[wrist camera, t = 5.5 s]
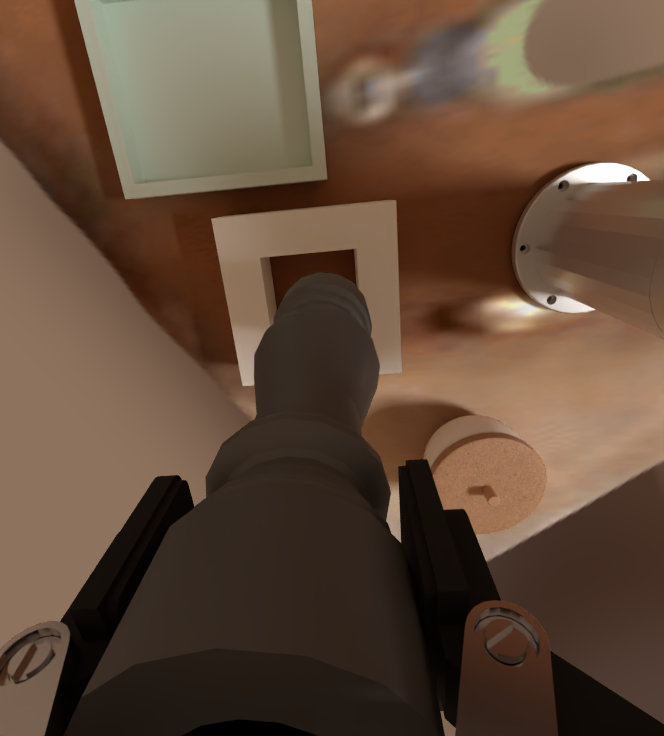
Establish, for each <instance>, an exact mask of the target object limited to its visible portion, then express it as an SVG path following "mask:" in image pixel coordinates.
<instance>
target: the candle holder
mask: <svg viewBox="0 0 664 736" xmlns="http://www.w3.org/2000/svg"><path fill="white" fill-rule="evenodd" d="M371 331H372V323H371V319H370V314H369V310H368V307H367V304H366V300H365V297H364V295H363V294H362V293H361V291H360V290H359V289H358V288H357V286H356V285H355V284H354V283H353V282H352V281H350V280H348V279H346V278H344V277H342V276H340V275H338V274H334V273H323V272H318V273H315V274H311V275H308V276H305V277H302V278H301V279H300V280H298V281H297V282H296V283H295V284H294V285H293V286H291V287H290V288H289V289H288V291H287V292H286V294H285V296H284V298H283V300H282V302H281V304H280V306H279V308H278V310H277V312H276V314H275V316H274V324H272V325H271V326H270V327H269V328H268V329H267V330H266V331H265V333H264V335H263V337H262V339H261V341H260V344H259V346H258V348H257V350H256V352H255V354H254V385H255V396H256V410H257V415H256V418H255V420H252V421H250V422H249V423H248V424H247V425H245V426H244V427H243V428H241V429H240V430H239V431H237V432H236V433H235V434H234V435H233V436H231V437H230V438H229V439H228V440H226V441H225V442H224V443H223V444H222V445H221V447H220V449H219V451H218V453H217V455H216V457H215V460H214V461H213V464H212V466H211V468H210V470H209V472H208V474H207V476H206V498H205V499H204V500H203V501H201V502H200V503H199V504H197V505H196V506H195V507H194V508H193V510H191V511H190V512H189V513H187V514H186V515H184V516H183V517H182V518H180V519H179V520H178V521H176V522H175V523H174V524H172V525H171V526H170V527H169V529H168V531H167V533H166V535H165V537H164V539H163V540H162V542H161V544H160V546H159V548H158V550H157V552H156V554H155V556H154V558H153V560H152V562H151V564H150V566H149V568H148V569H147V571H146V573H145V575H144V577H143V579H142V581H141V583H140V585H139V587H138V589H137V591H136V593H135V595H134V596H133V598H132V600H131V602H130V604H129V606H128V608H127V610H126V612H125V614H124V616H123V618H122V620H121V622H120V624H119V625H118V627H117V629H116V631H115V633H114V635H113V637H112V639H111V641H110V643H109V645H108V647H107V649H106V651H105V652H104V654H103V656H102V658H101V660H100V662H99V664H98V666H97V668H96V670H95V672H94V674H93V676H92V678H91V680H90V681H89V683H88V685H87V687H86V689H85V691H84V693H83V695H82V697H81V699H80V701H79V703H78V705H77V707H76V710H75V712H74V714H73V716H72V718H71V720H70V723H69V725H68V727H67V729H66V731H65V733H64V735H63V736H445V734H444V729H443V723H442V719H441V713H440V707H439V702H438V697H437V691H436V686H435V681H434V675H433V670H432V665H431V660H430V654H429V649H428V645H427V643H426V639H425V633H424V628H423V623H422V617H421V612H420V607H419V601H418V596H417V590H416V585H415V580H414V576H413V573H412V570H411V566H410V563H409V560H408V557H407V554H406V551H405V548H404V546H403V545H402V544H401V543H400V542H399V541H398V540H397V539H396V538H395V537H394V536H393V535H392V534H391V531H390V528H389V525H388V523H387V522H386V518H387V512H388V506H389V500H390V495H391V492H390V487H389V484H388V481H387V477H386V474H385V471H384V468H383V465H382V462H381V459H380V456H379V455H378V453H377V452H376V451H375V450H374V449H373V448H372V447H371V446H370V445H369V444H368V443H367V442H366V441H365V440H364V438H363V437H362V436H361V428H362V425H363V423H364V420H365V417H366V415H367V412H368V409H369V407H370V404H371V402H372V399H373V397H374V394H375V392H376V389H377V384H378V377H379V370H380V363H379V359H378V356H377V352H376V349H375V346H374V342H373V339H372V338H371Z"/></svg>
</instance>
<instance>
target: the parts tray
mask: <svg viewBox="0 0 664 736" xmlns="http://www.w3.org/2000/svg"><path fill="white" fill-rule="evenodd" d="M74 2H75V6H76V9H77V13H78V17H79V21H80V25H81V29H82V33H83V37H84V41H85V45H86V48H87V52H88V56H89V60H90V64H91V68H92V72H93V76H94V80H95V83H96V87H97V91H98V95H99V99H100V103H101V107H102V111H103V115H104V119H105V122H106V126H107V130H108V134H109V138H110V142H111V146H112V150H113V154H114V157H115V161H116V165H117V169H118V173H119V177H120V181H121V185H122V189H123V193H124V196H125V199H145V198H155V197H165V196H175V195H185V194H195V193H205V192H215V191H225V190H234V189H244V188H254V187H264V186H274V185H284V184H294V183H304V182H314V181H324V180H327V168H326V157H325V146H324V134H323V123H322V112H321V100H320V89H319V77H318V66H317V55H316V43H315V32H314V20H313V9H312V0H74Z"/></svg>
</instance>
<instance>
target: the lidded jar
mask: <svg viewBox="0 0 664 736" xmlns="http://www.w3.org/2000/svg"><path fill="white" fill-rule="evenodd" d="M423 459H427V460H428V463H429V466H430V469H431V472H432V475H433V478H434V481H435V485H436V488H437V491H438V494H439V497H440V500H441V503H442V506H443V509H444V510H449V509H464V510H465V511H466V513H467V515H468V517H469V520H470V522H471V525H472V527H473V530H474V532H475V534H490V533H494V532H499V531H502V530H505V529H508V528H510V527H512V526H514V525H516V524H518V523H520V522H521V521H523V520H524V519H525V518H526V517H528V516H529V515H530V514H531V513H532V512H533V511H534V510H535V509H536V507H537V506H538V504H539V503H540V501H541V499H542V497H543V495H544V492H545V488H546V482H547V476H546V470H545V466H544V464H543V462H542V460H541V458H540V457H539V455H538V454H537V453H536V452H535V450H534V449H533V448H532V447H531V446H530V445H528V444H527V443H526V441H525V440H524V439H523V438H522V437H521V436H520V435H519V434H518V433H517V432H515V431H514V430H513V429H512V428H511V427H509V426H507V425H506V424H504V423H502V422H501V421H499V420H496V419H493V418H490V417H486V416H481V415H469V416H462V417H458V418H455V419H453V420H451V421H449V422H447V423H445V424H444V425H442V426H441V427H440V428H439V429H438V430H437V431H436V432H435V433H434V434H433V435H432V437H431V438H430V440H429V442H428V443H427V446H426V449H425V452H424V456H423Z"/></svg>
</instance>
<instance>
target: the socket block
mask: <svg viewBox="0 0 664 736" xmlns="http://www.w3.org/2000/svg"><path fill="white" fill-rule="evenodd" d="M211 220H212V226H213V231H214V236H215V241H216V247H217V252H218V257H219V263H220V268H221V273H222V279H223V284H224V289H225V294H226V300H227V305H228V310H229V316H230V321H231V326H232V332H233V337H234V342H235V348H236V353H237V358H238V363H239V369H240V374H241V379H242V385H243V386H250V385H254V354H255V352H256V350H257V348H258V346H259V344H260V341H261V339H262V337H263V335H264V333H265V331H266V330H267V329H268V328H269V327H270V326H271V325H272V324H274V316H275V314H276V312H277V306H276V299H275V293H274V286H273V279H272V272H271V265H270V258H269V257H274V256H284V255H295V254H305V253H316V252H326V251H337V250H347V249H354V258H355V273H356V286H357V288H358V289H359V290H360V291H361V293H362V294H363V295H364V297H365V300H366V304H367V307H368V310H369V314H370V319H371V323H372V331H371V338H372V339H373V342H374V346H375V349H376V352H377V356H378V359H379V363H380V370H379V375H380V374H392V373H402V363H401V332H400V301H399V270H398V239H397V208H396V200H380V201H370V202H360V203H350V204H340V205H330V206H319V207H309V208H299V209H289V210H279V211H269V212H259V213H248V214H238V215H228V216H222V217H217V218H212V219H211Z"/></svg>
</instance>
